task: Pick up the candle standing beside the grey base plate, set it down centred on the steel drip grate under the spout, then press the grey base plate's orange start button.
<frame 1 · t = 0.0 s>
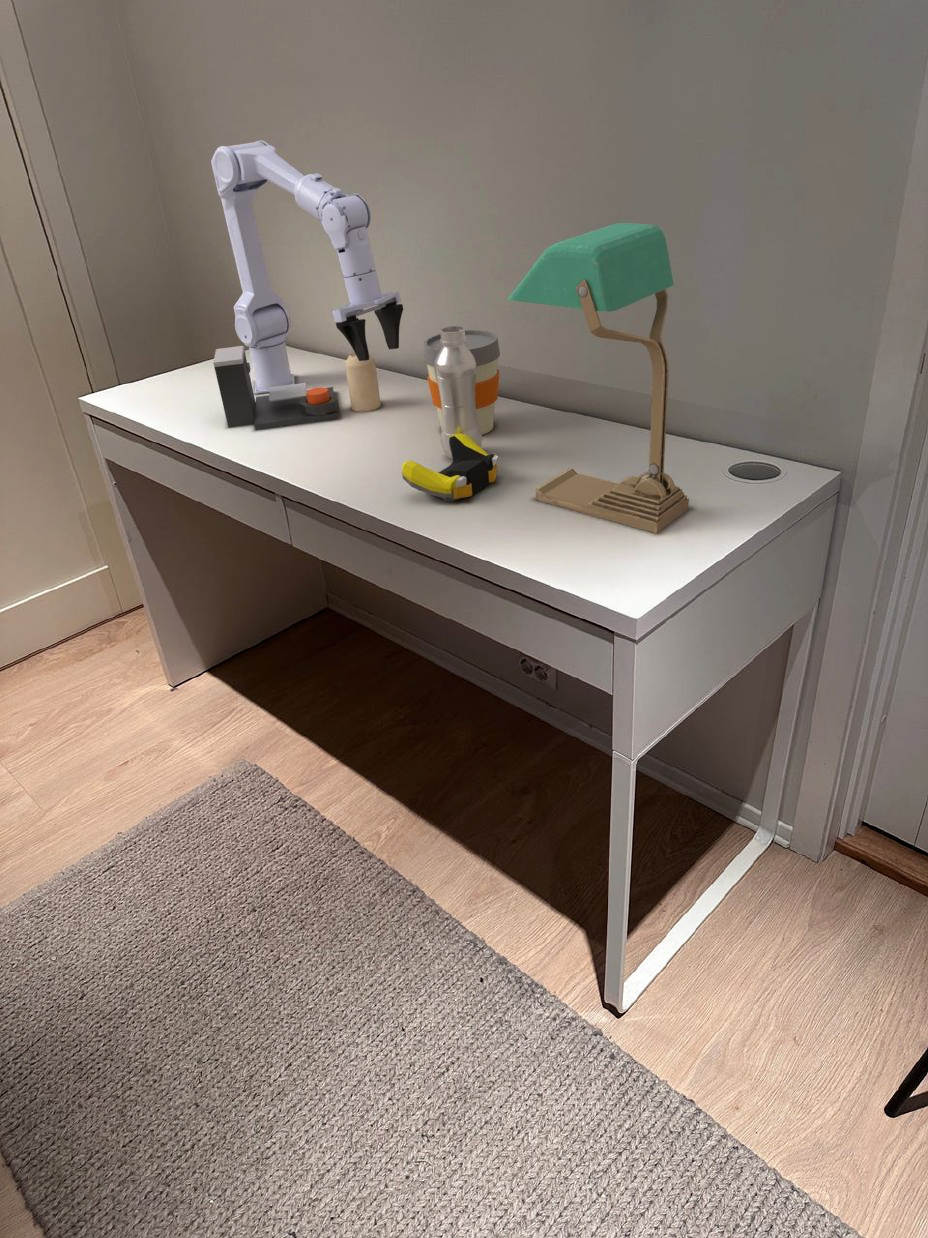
hand: (379, 354, 155), 11 cm above the table, tool pointing down, fingers open, 7 cm apart
coffee maker tower: (242, 417, 164), on the table
grey base plate: (296, 410, 165), on the table
candle: (366, 407, 164), on the table
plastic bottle: (462, 457, 140), on the table
start button: (318, 396, 159), point 4 cm above the table, slide at 0.1 cm
gaming controller: (456, 486, 131), on the table
reusable coffee cup: (467, 428, 151), on the table
banker's lamp: (605, 504, 122), on the table
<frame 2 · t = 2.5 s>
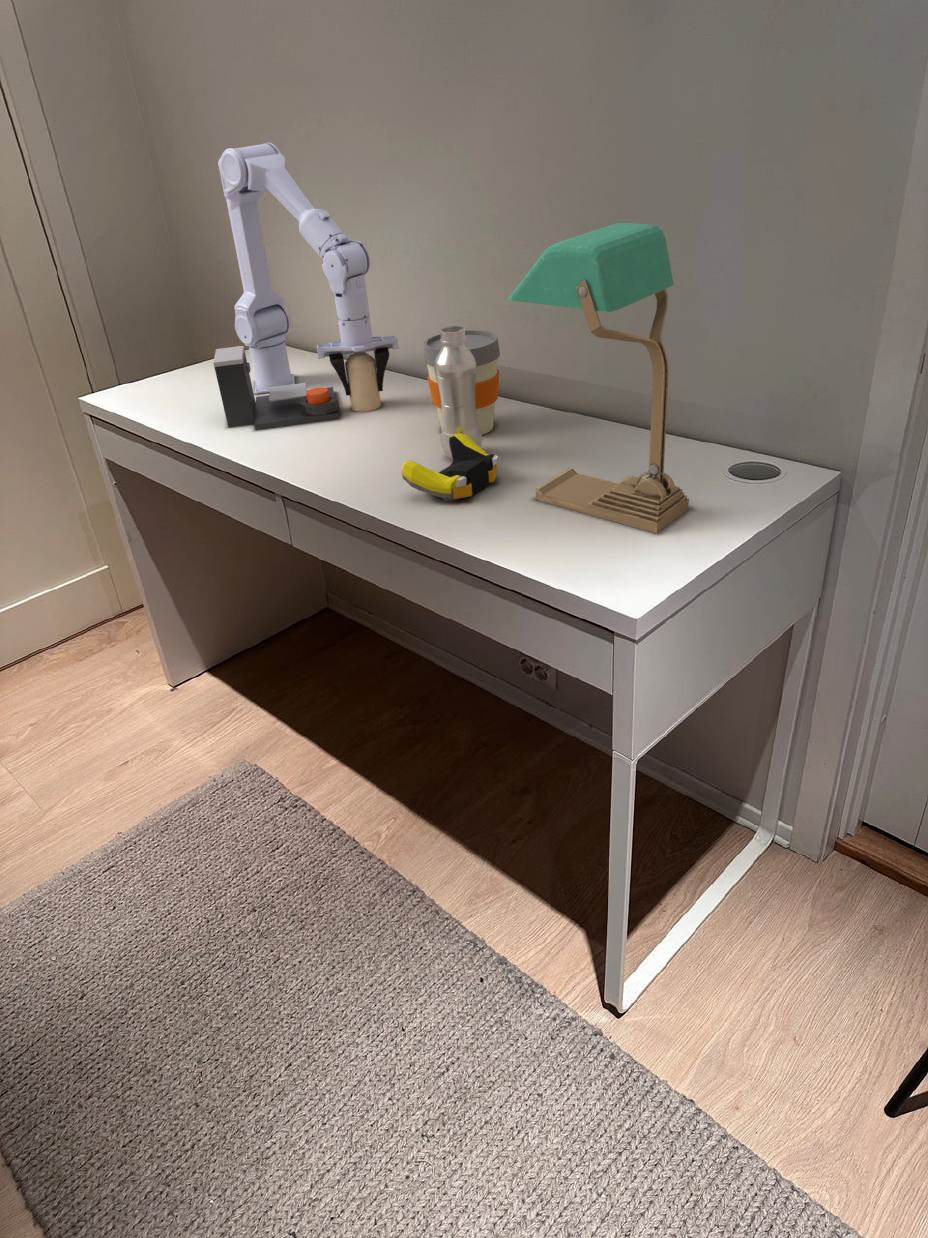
hand: (363, 391, 162), 3 cm above the table, tool pointing down, fingers closed on candle, 5 cm apart
candle: (366, 407, 164), on the table, touching gripper
everything else where it was.
when the fingers open (6 cm above the table, at t = 6.8 s): candle stays where it is, resting on coffee maker tower.
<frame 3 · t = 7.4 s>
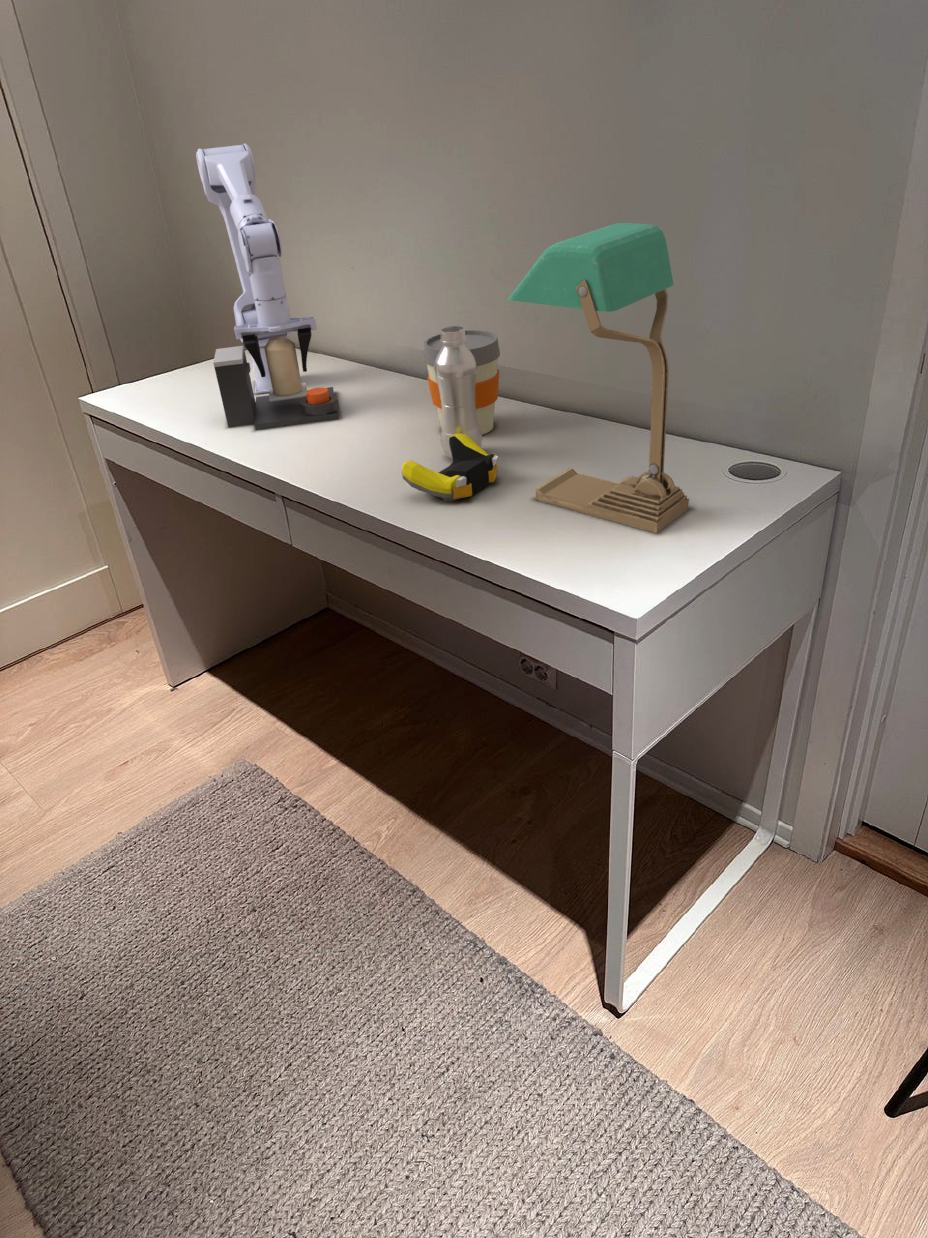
hand: (284, 372, 163), 7 cm above the table, tool pointing down, fingers open, 7 cm apart
candle: (288, 392, 165), point 3 cm above the table, touching coffee maker tower
everything else where it was.
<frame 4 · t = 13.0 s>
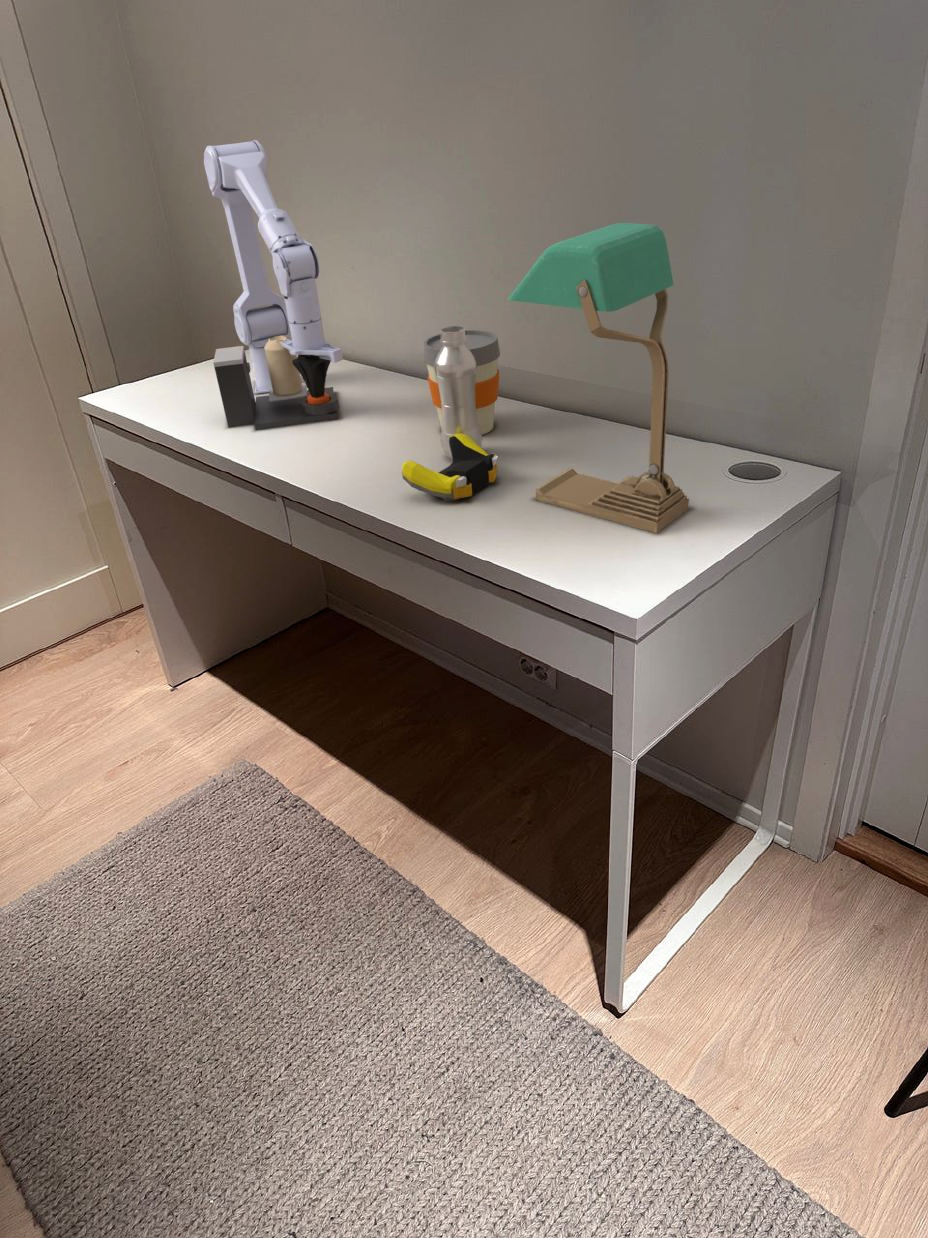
hand: (317, 395, 159), 4 cm above the table, tool pointing down, fingers closed, pressing on start button
start button: (318, 401, 160), point 3 cm above the table, slide at -0.8 cm, touching gripper
everything else where it was.
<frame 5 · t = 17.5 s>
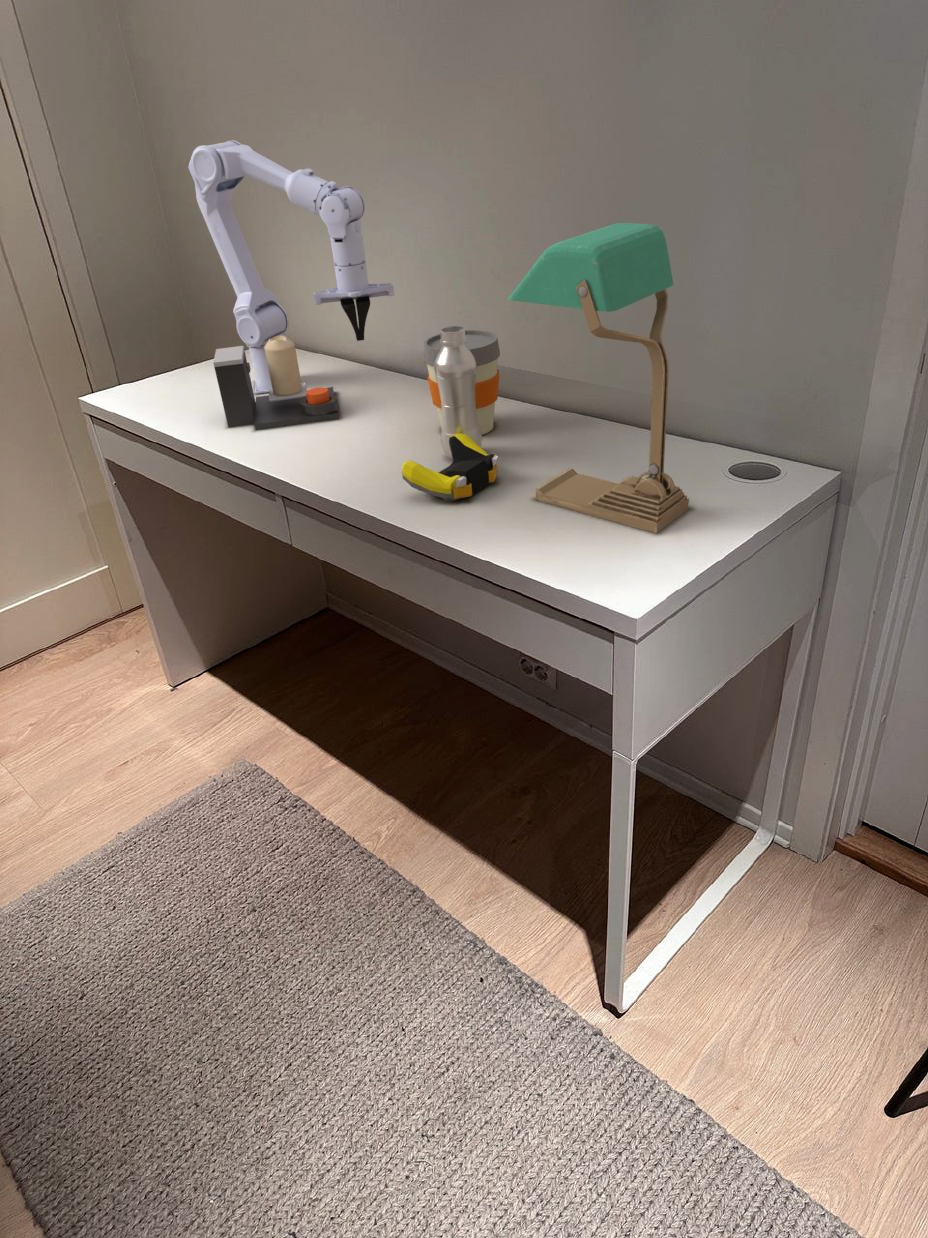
hand: (360, 339, 165), 10 cm above the table, tool pointing down, fingers closed
start button: (317, 396, 159), point 4 cm above the table, slide at 0.1 cm
everything else where it was.
at the end: candle 0.0 cm from the target spot on the grey base plate, point 3.1 cm above the grey base plate's base; candle tilted 0°; start button pushed in 0.9 cm at the most during the clip, back to where it started at the end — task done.
